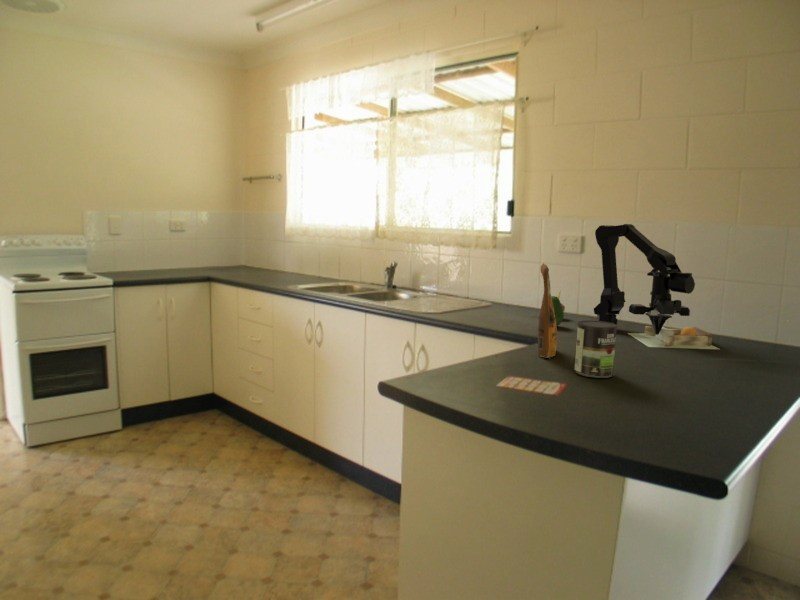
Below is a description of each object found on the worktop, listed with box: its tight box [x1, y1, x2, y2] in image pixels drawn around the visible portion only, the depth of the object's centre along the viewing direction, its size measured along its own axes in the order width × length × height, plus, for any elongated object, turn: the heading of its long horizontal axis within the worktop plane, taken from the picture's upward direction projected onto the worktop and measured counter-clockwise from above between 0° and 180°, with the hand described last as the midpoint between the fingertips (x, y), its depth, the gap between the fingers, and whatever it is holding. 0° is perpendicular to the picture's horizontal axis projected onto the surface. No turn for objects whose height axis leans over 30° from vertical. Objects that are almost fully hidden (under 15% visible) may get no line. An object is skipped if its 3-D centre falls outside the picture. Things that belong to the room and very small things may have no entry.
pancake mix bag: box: [537, 262, 558, 357], centre depth 179 cm, size 7×19×28 cm, turn 163°
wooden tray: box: [643, 325, 713, 347], centre depth 201 cm, size 16×20×4 cm
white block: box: [655, 326, 674, 342], centre depth 201 cm, size 2×9×4 cm, turn 177°
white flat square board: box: [627, 332, 720, 350], centre depth 201 cm, size 23×22×1 cm
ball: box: [681, 326, 697, 336], centre depth 200 cm, size 5×5×5 cm
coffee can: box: [574, 319, 618, 376], centre depth 158 cm, size 10×10×14 cm
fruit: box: [551, 295, 565, 327], centre depth 223 cm, size 8×8×12 cm
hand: (656, 334), depth 201 cm, fingers closed
